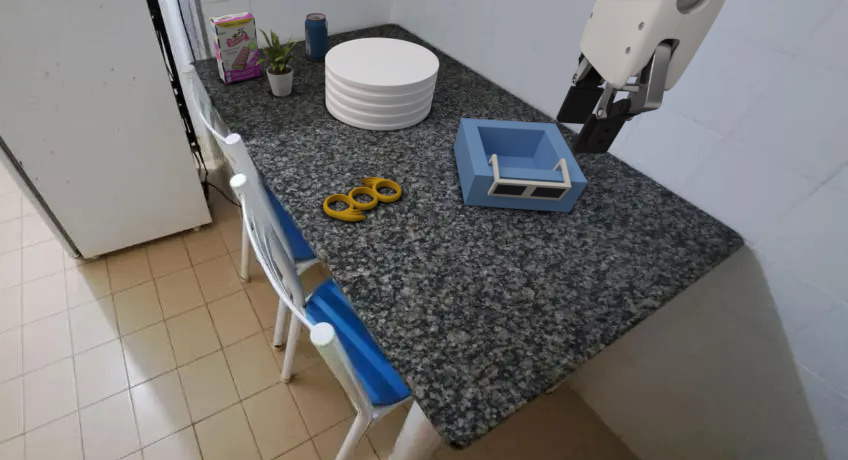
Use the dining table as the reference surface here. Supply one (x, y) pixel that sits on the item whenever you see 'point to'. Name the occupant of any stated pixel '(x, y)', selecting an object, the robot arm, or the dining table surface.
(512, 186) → the white sunglasses
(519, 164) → the bin
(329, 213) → the yellow winged triple ring
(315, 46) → the soda can
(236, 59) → the candy bar box
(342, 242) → the dining table surface
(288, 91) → the house plant
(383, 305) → the dining table surface
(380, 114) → the plate stack
